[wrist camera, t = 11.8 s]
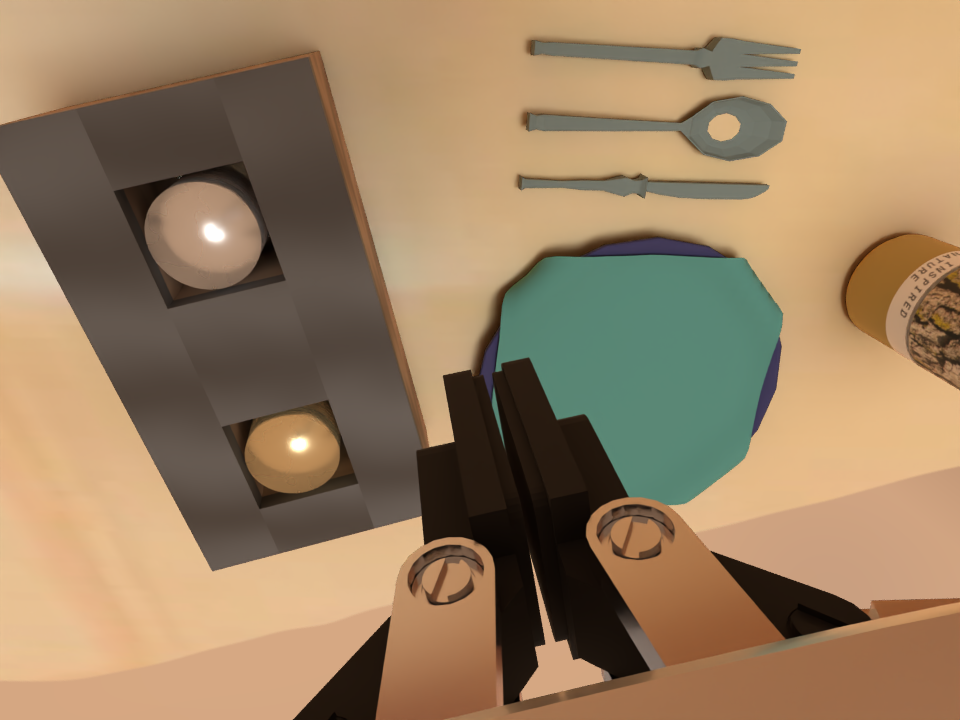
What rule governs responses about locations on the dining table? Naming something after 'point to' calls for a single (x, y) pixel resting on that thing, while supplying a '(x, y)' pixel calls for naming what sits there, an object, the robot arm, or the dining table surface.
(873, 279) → the paper tube
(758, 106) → the cutlery set
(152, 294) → the peg block
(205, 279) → the steel peg
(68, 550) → the dining table surface
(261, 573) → the dining table surface
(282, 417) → the brass peg
